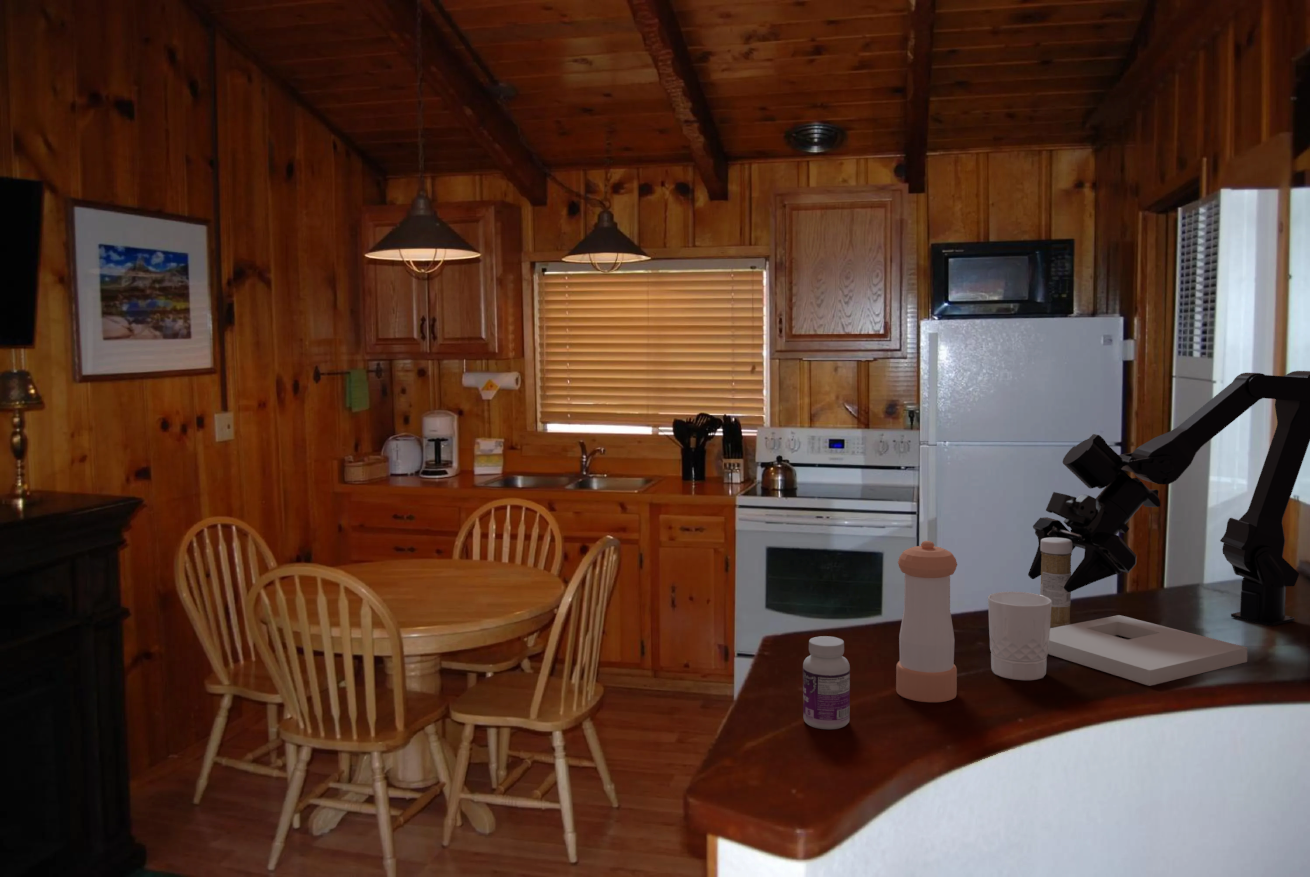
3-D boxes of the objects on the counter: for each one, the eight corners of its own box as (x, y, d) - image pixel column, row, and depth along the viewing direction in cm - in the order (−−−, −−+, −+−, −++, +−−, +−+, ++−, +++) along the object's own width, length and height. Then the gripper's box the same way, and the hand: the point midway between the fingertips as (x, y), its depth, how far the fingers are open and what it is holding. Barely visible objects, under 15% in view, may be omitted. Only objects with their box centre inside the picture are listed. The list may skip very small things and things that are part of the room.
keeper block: (1118, 627, 156) (1119, 614, 156) (1246, 661, 138) (1247, 647, 138) (1025, 646, 147) (1025, 633, 146) (1149, 685, 129) (1149, 670, 129)
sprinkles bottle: (1048, 619, 161) (1050, 535, 160) (1076, 625, 158) (1078, 539, 157) (1033, 624, 158) (1034, 539, 157) (1060, 630, 155) (1062, 543, 154)
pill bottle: (798, 715, 120) (798, 634, 120) (842, 713, 121) (842, 633, 120) (809, 731, 115) (808, 648, 114) (855, 729, 115) (855, 646, 115)
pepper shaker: (946, 706, 123) (948, 548, 121) (888, 696, 126) (889, 543, 125) (963, 689, 129) (965, 539, 127) (907, 680, 133) (908, 534, 131)
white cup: (1049, 666, 137) (1050, 593, 137) (1051, 684, 130) (1053, 607, 129) (987, 661, 140) (988, 590, 139) (986, 679, 133) (987, 603, 132)
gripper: (1044, 467, 166) (982, 538, 164) (1121, 481, 148) (1051, 561, 146) (1086, 513, 168) (1025, 583, 167) (1166, 532, 150) (1098, 611, 149)
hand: (1047, 583), depth 157 cm, fingers open, 9 cm apart
